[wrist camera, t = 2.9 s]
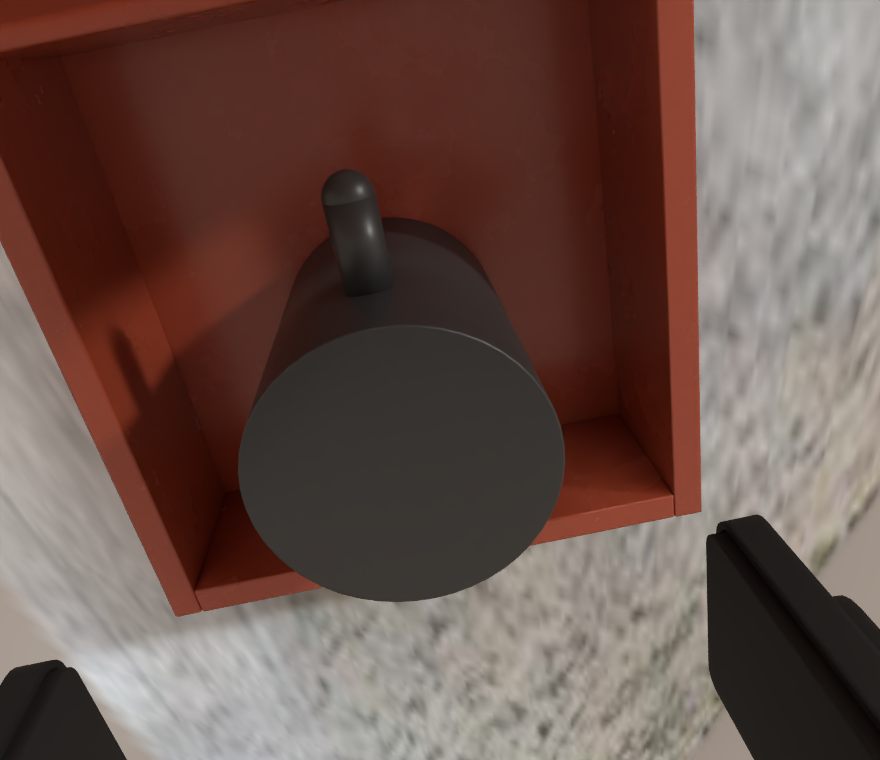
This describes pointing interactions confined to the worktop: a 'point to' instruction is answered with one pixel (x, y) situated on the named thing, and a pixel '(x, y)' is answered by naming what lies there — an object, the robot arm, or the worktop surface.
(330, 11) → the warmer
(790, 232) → the worktop surface
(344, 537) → the mug
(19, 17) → the lid
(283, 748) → the worktop surface
